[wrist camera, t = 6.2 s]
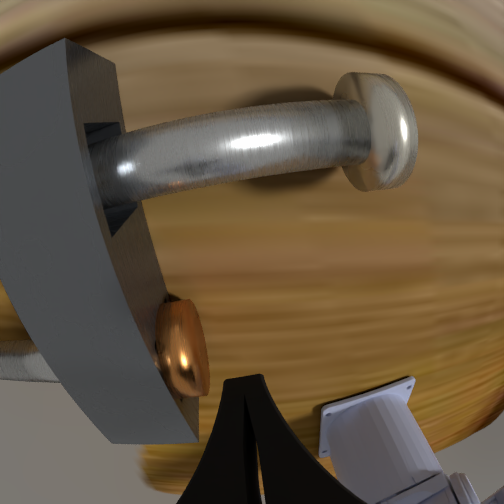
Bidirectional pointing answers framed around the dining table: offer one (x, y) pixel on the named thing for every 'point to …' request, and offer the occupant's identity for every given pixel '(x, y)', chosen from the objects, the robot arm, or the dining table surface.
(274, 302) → the dining table surface
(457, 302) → the dining table surface
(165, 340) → the pin
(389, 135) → the pin
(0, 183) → the block
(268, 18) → the dining table surface
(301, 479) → the robot arm
